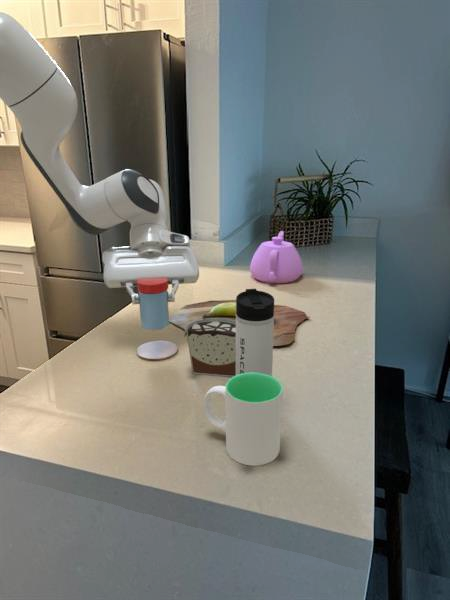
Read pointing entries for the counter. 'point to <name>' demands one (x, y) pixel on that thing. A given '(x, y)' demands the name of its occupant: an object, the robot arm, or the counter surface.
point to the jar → (154, 310)
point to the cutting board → (283, 317)
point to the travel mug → (254, 332)
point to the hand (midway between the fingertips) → (154, 302)
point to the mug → (250, 417)
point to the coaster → (157, 350)
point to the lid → (152, 285)
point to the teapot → (276, 261)
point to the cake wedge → (212, 346)
